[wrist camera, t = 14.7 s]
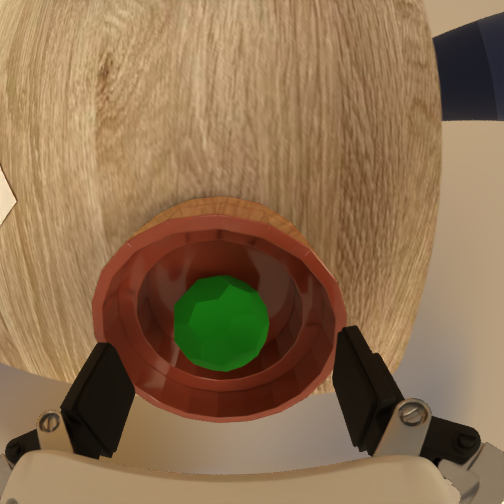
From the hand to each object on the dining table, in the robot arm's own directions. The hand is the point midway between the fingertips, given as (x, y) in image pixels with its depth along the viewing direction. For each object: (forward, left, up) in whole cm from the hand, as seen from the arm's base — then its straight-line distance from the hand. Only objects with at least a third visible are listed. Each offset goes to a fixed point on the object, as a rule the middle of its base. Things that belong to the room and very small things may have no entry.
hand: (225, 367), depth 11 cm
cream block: (+20, -10, -7) cm, 23 cm away
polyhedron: (0, 0, -6) cm, 6 cm away
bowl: (+1, 0, -7) cm, 7 cm away
